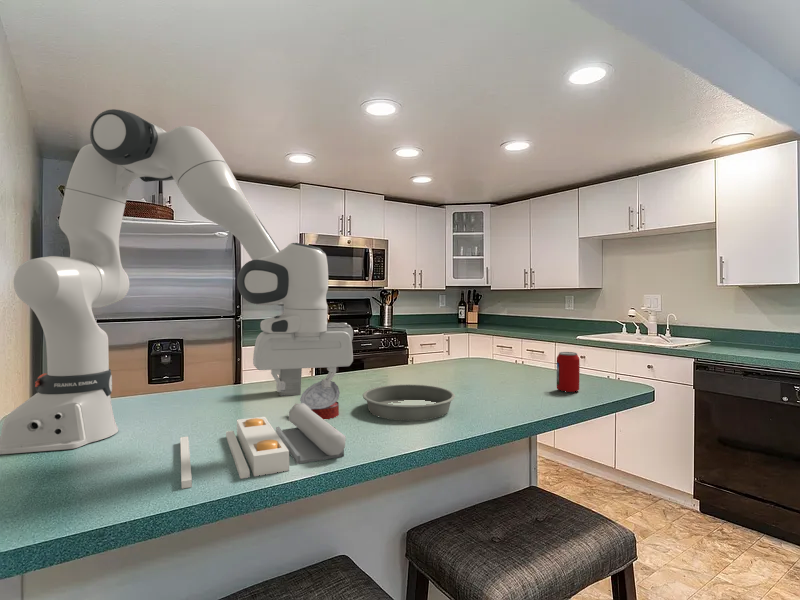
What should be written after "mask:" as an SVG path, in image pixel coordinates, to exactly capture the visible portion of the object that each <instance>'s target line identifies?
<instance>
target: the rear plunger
mask: <svg viewBox="0 0 800 600" xmlns="http://www.w3.org/2000/svg"><path fill="white" fill-rule="evenodd" d="M254 418H255V419H249V420H246V421H245V427H252V426H260V425H263V419H258V418H256V417H254Z"/></svg>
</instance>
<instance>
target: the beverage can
mask: <svg viewBox="0 0 800 600" xmlns="http://www.w3.org/2000/svg"><path fill="white" fill-rule="evenodd" d="M580 368H581V367H580V357H579V356H578V353H577V352H574V351H573V352H572V351H560V352H559V353H558V355H557V356H556V389H557V390H559V391H560V390H561V391H566V392H565V393H567V392H574V393H576V392H578V391H580V374H581V373H580ZM561 391H560V392H561ZM575 391H576V392H575Z"/></svg>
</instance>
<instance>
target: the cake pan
mask: <svg viewBox="0 0 800 600" xmlns="http://www.w3.org/2000/svg"><path fill="white" fill-rule="evenodd" d="M362 397H363V399H364V401H366V404H367V409H368V412H369V411H370V412H369V413H370V414H371V413H372V414H371V415H373V416H375V415H376V417H378V416H379V417H378V418H381V417H382V419H386V418H387V419H388V420H392V419H394V420H393V421H424V420H423V419H426V420H431V419H430V418H433V419H436V418H435V417H437V418H440V417H439V416H441V417H443V416H445V415H447V414H448V413H449V411H450V406H451V402H452V401H453V400H455V398H456V394H455V393H454V392H453V391H452V390H449V389H447V388H443V387H440V386H434V385H425V384H389V385H383V386H382V385H381V386H377V387H374V388H373V387H372V388H369V389H367V390H366V391H364V392H363V393H362ZM404 400H425V401H431V402H436V403H434V404H426V405H393V404H388V403H391V402H393V403H401V402H398V401H404ZM447 412H448V413H447ZM446 413H447V414H446ZM444 414H445V415H444ZM442 415H443V416H442ZM387 419H386V420H387Z"/></svg>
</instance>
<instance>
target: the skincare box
mask: <svg viewBox="0 0 800 600" xmlns="http://www.w3.org/2000/svg"><path fill="white" fill-rule="evenodd" d="M302 371H303V368H299V369H280V375H278V378H279V379H280V381H284V382H285V391H281V392H278V394H279V396H281V397H282V396H283V397H284V396H285V397H286V396H287V397H288V396H302V394H301V393H302V373H303V372H302Z"/></svg>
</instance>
